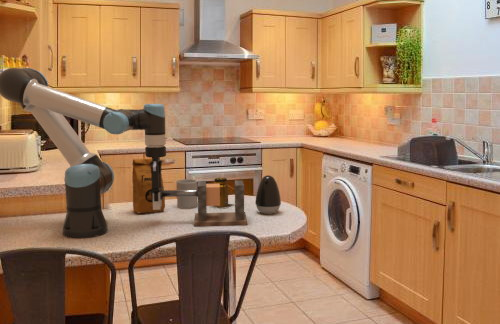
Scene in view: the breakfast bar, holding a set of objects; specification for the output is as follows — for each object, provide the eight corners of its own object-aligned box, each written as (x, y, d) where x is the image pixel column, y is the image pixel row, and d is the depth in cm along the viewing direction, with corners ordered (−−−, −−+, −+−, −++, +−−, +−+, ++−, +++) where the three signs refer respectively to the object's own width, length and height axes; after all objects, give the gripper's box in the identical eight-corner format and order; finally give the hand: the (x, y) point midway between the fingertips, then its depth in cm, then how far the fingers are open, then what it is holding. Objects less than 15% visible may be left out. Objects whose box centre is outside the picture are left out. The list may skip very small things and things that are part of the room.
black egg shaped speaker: (252, 215, 214) (252, 177, 212) (258, 209, 224) (258, 172, 222) (278, 216, 212) (278, 178, 209) (282, 210, 222) (283, 173, 219)
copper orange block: (209, 207, 228) (209, 179, 227) (220, 203, 236) (219, 175, 234) (224, 208, 225) (224, 180, 223) (234, 204, 232) (234, 177, 231)
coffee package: (166, 212, 219) (165, 158, 216) (135, 215, 215) (133, 160, 211) (161, 207, 228) (159, 155, 225) (131, 210, 224) (129, 157, 221)
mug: (198, 208, 226) (198, 182, 225) (178, 209, 225) (177, 183, 223) (195, 202, 238) (195, 177, 236) (176, 203, 236) (175, 178, 235)
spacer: (206, 205, 201) (206, 187, 200) (206, 201, 208) (206, 183, 207) (219, 205, 201) (219, 187, 200) (219, 201, 208) (219, 183, 207)
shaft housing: (194, 226, 198) (193, 187, 196) (195, 216, 212) (194, 180, 210) (247, 225, 199) (247, 186, 197) (245, 215, 213) (244, 179, 211)
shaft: (151, 201, 200) (151, 189, 200) (152, 198, 205) (152, 187, 204) (216, 199, 202) (216, 187, 201) (216, 197, 206) (216, 185, 206)
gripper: (163, 148, 191) (165, 213, 195) (167, 143, 209) (169, 202, 212) (142, 149, 191) (144, 213, 194) (147, 143, 208) (149, 202, 212)
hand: (157, 207), depth 203 cm, fingers closed on shaft, 4 cm apart
